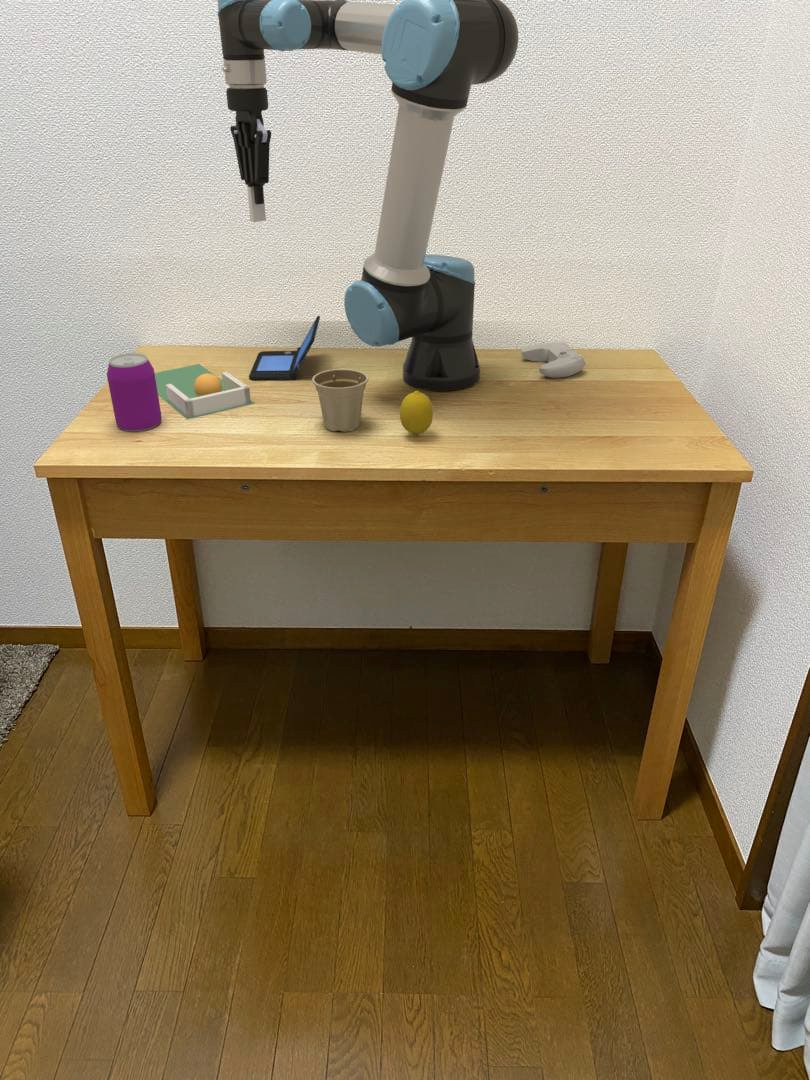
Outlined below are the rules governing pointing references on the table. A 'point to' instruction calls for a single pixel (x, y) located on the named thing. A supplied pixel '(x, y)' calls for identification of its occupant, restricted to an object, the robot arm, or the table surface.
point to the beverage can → (133, 392)
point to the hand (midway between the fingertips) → (258, 220)
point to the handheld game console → (282, 361)
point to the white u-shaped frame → (211, 398)
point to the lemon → (416, 413)
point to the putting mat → (184, 384)
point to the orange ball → (207, 385)
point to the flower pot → (341, 397)
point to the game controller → (555, 359)
